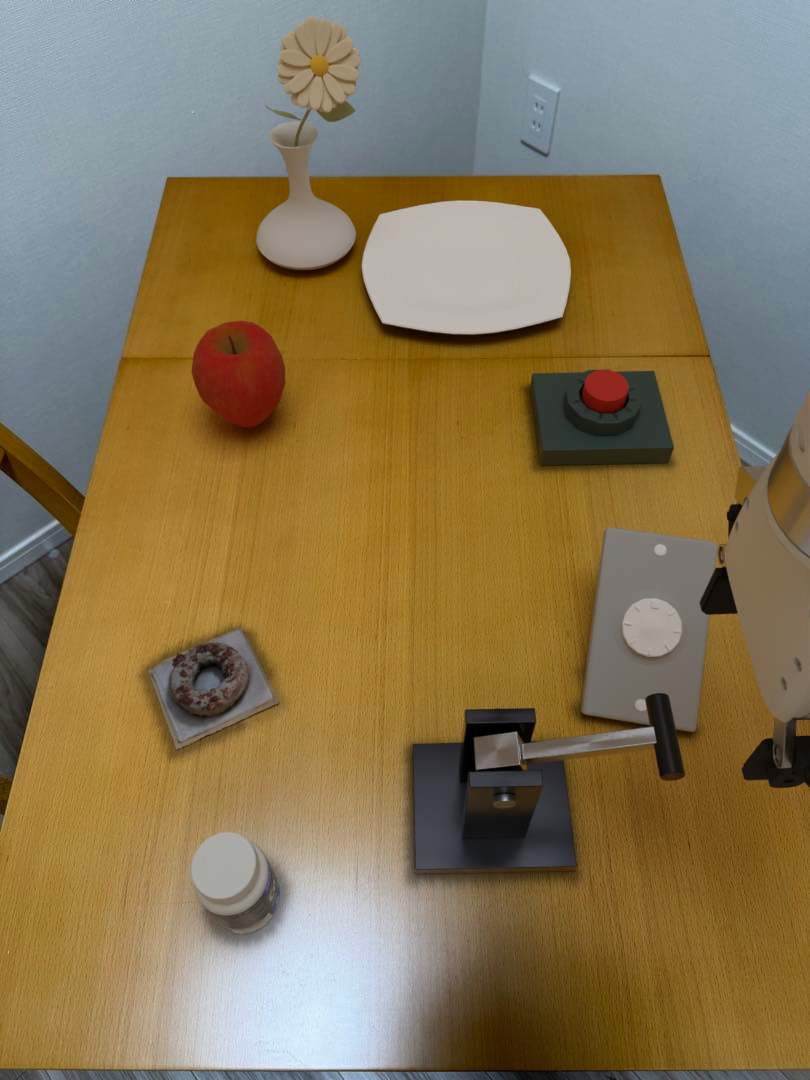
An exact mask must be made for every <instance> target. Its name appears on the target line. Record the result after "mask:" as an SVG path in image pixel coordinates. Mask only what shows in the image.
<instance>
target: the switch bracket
mask: <svg viewBox="0 0 810 1080" xmlns="http://www.w3.org/2000/svg"><path fill="white" fill-rule="evenodd" d="M463 713H464V715H463V723H462V733H461V734H462V735H461V742H432V743H431V742H430V743H427V742H426V743H424V742H423V743H412V770H413V771H412V776H413V778H412V779H413V784H412V785H413V824H414V825H413V826H414V829H413V830H414V869H415V870H414V871H415V872H414V873H415V875H434V874H435V875H437V874H439V875H440V874H443V875H444V874H484V873H485V874H487V873H488V874H489V873H535V872H536V873H538V872H539V873H541V872H543V873H544V872H574V871H576V868H577V866H578V865H577V856H576V849H575V842H574V841H575V840H574V833H573V825H572V817H571V810H570V802H569V801H570V800H569V793H568V784H567V777H566V769H565V760H562V761H554V762H546V763H538V764H530V765H527V770H519V771H476V765H475V749H474V737H477V736H485V735H492V734H499V733H507V732H514V731H517V732H518V734H519V735H520V737H521V739H522V741H523V743H529V742H537V741H538V740H533V735H534V731H535V729H536V724H537V715H536V708H535V707H521V708H520V707H519V708H516V707H515V708H514V707H513V708H500V707H499V708H498V707H497V708H467V709H464V712H463Z"/></svg>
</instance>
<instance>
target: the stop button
mask: <svg viewBox="0 0 810 1080" xmlns="http://www.w3.org/2000/svg"><path fill="white" fill-rule="evenodd" d="M597 370H598V371H595V372H593V373H591V374H589V375H588V376H587V378H586V380H585V383H584V388H583V392H582V400H583V402H584V404H585V405H586V406H587V407H588V408H589V409H590V410H593V411H595V412H598V413H601V414H610V413H615V412H617V411H619V410H620V409H621V408H622V407H623V406H624V404H625V400H626V397H627V393H628V389H629V386H628V382H627V381H626V379H625V378H624V377H623V376H622V375H620V374H619V373H617V372H618V371H614V370H611V369H608V370H607V369H597ZM610 370H611V371H610Z"/></svg>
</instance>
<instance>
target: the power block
mask: <svg viewBox="0 0 810 1080" xmlns="http://www.w3.org/2000/svg"><path fill="white" fill-rule="evenodd" d="M598 370H599V369H588V370H585V371H581V372H580V371H579V372H533V373H532V374H531V380H530V385H529V392H530V400H531V406H532V415H533V421H534V422H533V423H534V429H535V436H536V443H537V451H538V456H539V465H540V466H580V465H581V466H583V465H584V466H585V465H625V464H626V465H630V464H632V465H633V464H668V463H670V460H671V457H672V455H673V452H674V449H675V445H674V442H673V438H672V434H671V430H670V425H669V422H668V419H667V415H666V411H665V407H664V402H663V400H662V394H661V391H660V388H659V383H658V379H657V376H656V372H655V370H628V371H627V370H625V371H624V370H623V371H616V372H617V373H619V374H620V375H622V376H623V377H624V378H625V379H626V381H627V382H628V386H629V389H628V393H627V397H626V400H625V404H624V406H623V407H622V408H621V409H620V410H619V411H617V412H615V413H610V414H601V413H598V412H595V411H593V410H590V409H589V408H588V407H587V406H586V405H585V404H584V402H583V400H582V392H583V388H584V383H585V380H586V378H587V376H588V375H589V374H591V373H593V372H595V371H598ZM606 370H610V371H612V370H611V369H606Z"/></svg>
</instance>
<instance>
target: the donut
mask: <svg viewBox="0 0 810 1080" xmlns="http://www.w3.org/2000/svg"><path fill="white" fill-rule="evenodd" d="M147 673H148V674H149V677H150V681H151V683H152V686H153V689H154V692H155V694H156V697H157V701H158V703H159V705H160V709H161V712H162V713H163V714H162V715H163V717H164V720H165V722H166V725H167V727H168V731H169V733H170V736H171V738H172V742H173V744H174V747H175V750H179V749H182V748H184V747H186V746H189V745H191V744H193V743H195V742H197V741H199V740H201V739H202V738H205V737H206V736H209V735H211V734H212V735H213V734H215V733H216V732H219V731H222V730H223V729H224V728H228V727H230V726H232V725H234V724H236V723H238V722H240V721H242V720H244V719H247V718H249V717H252V716H254V715H255V714H257V713H259V712H261V711H264V710H266V709H269V708H272V707H273V706H275V705H277V704H279V703H280V700H279V698H278V696H277V694H276V692H275V690H274V688H273V685H272V683H271V682H270V679H269V678H268V677H267V673H266V672H265V670H264V668H263V665H262V664H261V661H260V659H259V658H258V656H257V653H256V651H255V650H254V648H253V645H252V643H251V641H250V639H249V637H248V635H247V633H246V632H245V631H244V629H243V628H241V627H237V628H235V629H234V630H231V631H228V632H226V633H224V634H222V635H220V636H216V637H215V638H212V639H210V640H209V641H207V642H204V643H201V644H198V645H196V646H194V647H192V648H189V649H186V650H184V651H182V652H180V653H179V652H176V654H174V655H173V656H170V657H168V658H165V659H163V660H161V661H160V662H159V663H157V664H156V665H155V666H154V667H153V668H151V669H150V670H148V671H147Z"/></svg>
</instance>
